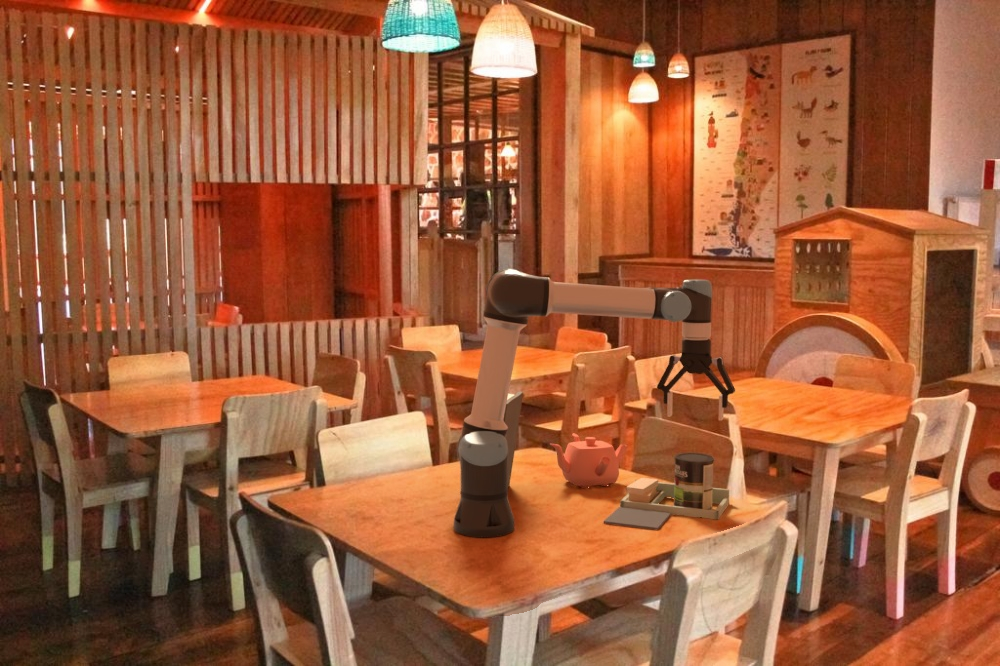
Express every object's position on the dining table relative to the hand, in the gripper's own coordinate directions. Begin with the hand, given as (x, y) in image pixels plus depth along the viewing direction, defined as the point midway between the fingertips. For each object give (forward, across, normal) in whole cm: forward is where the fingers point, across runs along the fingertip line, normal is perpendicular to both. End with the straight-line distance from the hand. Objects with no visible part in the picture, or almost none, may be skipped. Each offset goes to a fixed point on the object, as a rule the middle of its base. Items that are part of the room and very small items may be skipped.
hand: (695, 418), depth 253 cm
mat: (+24, +11, +16) cm, 31 cm away
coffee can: (+25, 0, 0) cm, 25 cm away
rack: (+24, +5, 0) cm, 25 cm away
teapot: (+25, +34, -13) cm, 44 cm away
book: (+23, +57, +10) cm, 62 cm away
